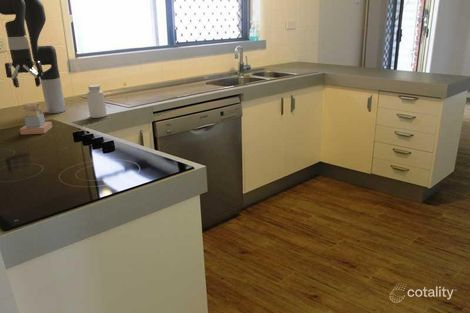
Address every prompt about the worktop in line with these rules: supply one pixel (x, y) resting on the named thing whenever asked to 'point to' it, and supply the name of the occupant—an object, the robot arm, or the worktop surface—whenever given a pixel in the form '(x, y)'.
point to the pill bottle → (96, 102)
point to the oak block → (32, 109)
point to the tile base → (36, 129)
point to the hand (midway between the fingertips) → (27, 86)
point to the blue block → (35, 121)
